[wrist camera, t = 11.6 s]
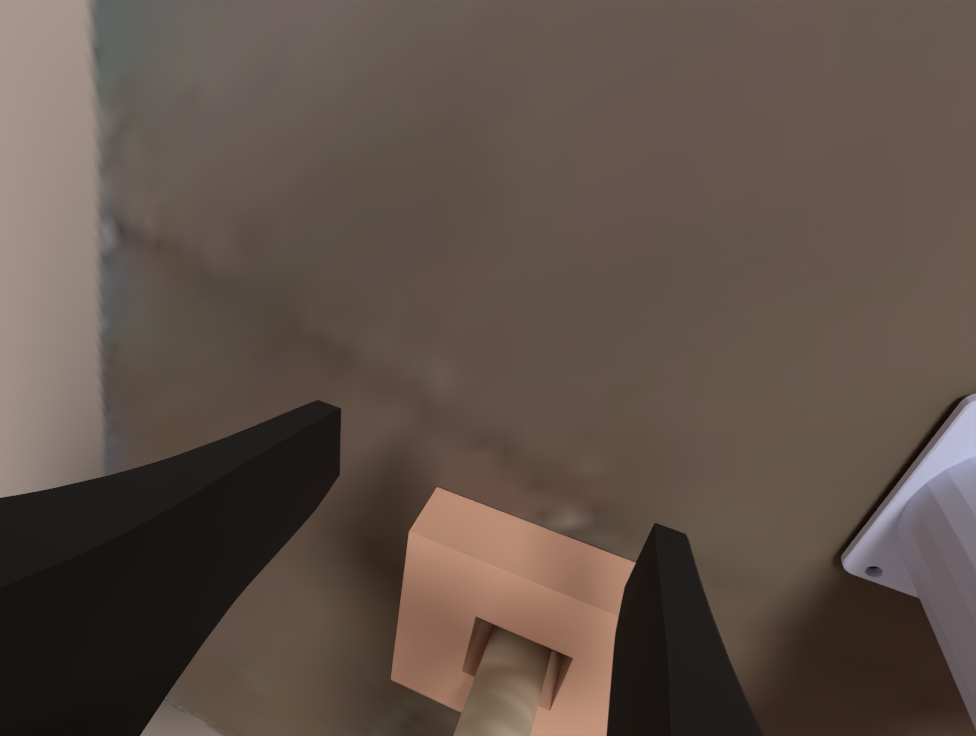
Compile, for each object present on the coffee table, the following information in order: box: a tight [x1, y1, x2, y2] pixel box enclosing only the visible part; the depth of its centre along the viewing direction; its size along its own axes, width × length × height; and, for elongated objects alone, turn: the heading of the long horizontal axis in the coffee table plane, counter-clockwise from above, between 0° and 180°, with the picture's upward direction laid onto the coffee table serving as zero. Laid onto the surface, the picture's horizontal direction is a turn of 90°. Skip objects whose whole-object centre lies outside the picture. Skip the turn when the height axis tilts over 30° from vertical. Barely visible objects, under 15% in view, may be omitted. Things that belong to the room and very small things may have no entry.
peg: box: [453, 625, 552, 736], centre depth 24 cm, size 3×3×8 cm
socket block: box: [391, 487, 636, 736], centre depth 26 cm, size 12×12×3 cm
